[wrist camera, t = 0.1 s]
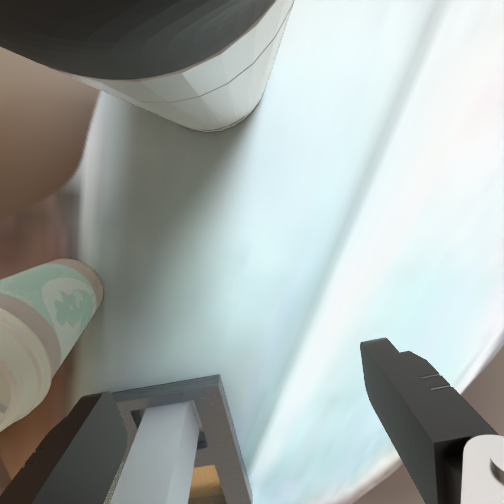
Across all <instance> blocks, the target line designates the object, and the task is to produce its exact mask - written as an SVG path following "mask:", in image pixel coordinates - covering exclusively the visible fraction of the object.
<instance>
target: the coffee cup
mask: <svg viewBox="0 0 504 504" xmlns="http://www.w3.org/2000/svg"><path fill="white" fill-rule="evenodd" d="M103 295H104V291H103V286H102V283H101V280H100V278H99V277H98V275H97V274H96V273H95V272H94V271H93V270H92V269H91V268H90V267H89V266H87V265H85V264H84V263H82V262H79V261H77V260H73V259H56V260H53V261H50V262H47V263H45V264H42V265H39V266H36V267H34V268H31V269H28V270H25V271H23V272H20V273H17V274H15V275H12V276H9V277H7V278H4V279H1V280H0V432H1V431H2V430H4V429H5V428H7V427H8V426H9V425H11V424H12V423H14V422H16V421H18V420H20V419H22V418H23V417H25V416H26V415H28V414H29V413H30V412H31V411H32V410H33V409H34V408H35V407H37V406H38V405H39V404H40V403H41V402H42V401H43V400H44V398H45V397H46V395H47V394H48V392H49V389H50V386H51V382H52V378H53V376H54V375H55V373H56V372H57V370H58V369H59V367H60V366H61V364H62V363H63V361H64V360H65V358H66V357H67V355H68V354H69V352H70V351H71V349H72V347H73V346H74V344H75V343H76V341H77V340H78V338H79V337H80V335H81V334H82V332H83V331H84V329H85V328H86V326H87V325H88V323H89V322H90V320H91V319H92V317H93V315H94V314H95V312H96V311H97V309H98V308H99V306H100V305H101V303H102V300H103Z"/></svg>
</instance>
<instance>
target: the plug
mask: <svg viewBox="0 0 504 504" xmlns="http://www.w3.org/2000/svg"><path fill="white" fill-rule="evenodd" d="M198 436H199V429H198V426H197V423H196V420H195V417H194V414H193V410H192V407H191V404H190V401H186V402H180V403H174V404H168V405H162V406H156V407H150V408H146V410H145V412H144V415H143V418H142V420H141V423H140V426H139V428H138V431H137V433H136V436H135V439H134V441H133V444H132V446H131V449H130V452H129V454H128V457H127V460H126V462H125V465H124V467H123V470H122V473H121V475H120V478H119V480H118V483H117V486H116V488H115V491H114V494H113V496H112V499H111V501H110V504H188V499H189V493H190V487H191V480H192V474H193V468H194V462H195V455H196V449H197V443H198Z"/></svg>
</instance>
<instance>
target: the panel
mask: <svg viewBox="0 0 504 504" xmlns="http://www.w3.org/2000/svg"><path fill="white" fill-rule="evenodd" d="M111 394H112V395H113V397H114V399H115V402H116V404H117V407H118V409H119V412H120V414H121V417H122V419H123V422H124V424H125V427H126V430H127V438H128V439H127V448H126V451H125V454H124V456H123V461H124V463H125V462H126V460H127V457H128V454H129V452H130V449H131V446H132V444H133V441H134V439H135V436H136V433H137V431H138V428H139V426H140V423H141V420H142V418H143V415H144V412H145V410H146V408H150V407H156V406H162V405H168V404H174V403H180V402H186V401H190V404H191V407H192V410H193V414H194V417H195V420H196V423H197V426H198V429H199V436H198V443H197V449H196V455H195V462H194V468H193V474H192V480H191V487H190V493H189V499H188V504H253V503H252V491H251V487H250V484H249V480H248V476H247V473H246V469H245V465H244V462H243V458H242V454H241V451H240V447H239V443H238V440H237V436H236V432H235V429H234V425H233V421H232V418H231V414H230V410H229V407H228V403H227V399H226V396H225V392H224V388H223V385H222V381H221V377H220V374H219V375H213V376H208V377H202V378H196V379H190V380H184V381H179V382H173V383H167V384H161V385H156V386H150V387H144V388H138V389H132V390H127V391H121V392H115V393H111Z"/></svg>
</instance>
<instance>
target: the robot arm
mask: <svg viewBox="0 0 504 504" xmlns="http://www.w3.org/2000/svg"><path fill="white" fill-rule="evenodd" d="M293 3H294V0H0V47H3V48H5V49H7V50H10V51H12V52H14V53H16V54H19V55H21V56H24V57H26V58H28V59H31V60H33V61H35V62H37V63H40V64H42V65H45V66H47V67H49V68H51V69H53V70H56V71H58V72H60V73H62V74H65V75H67V76H69V77H72V78H74V79H76V80H78V81H81V82H83V83H85V84H88V85H90V86H92V87H95V88H97V89H99V90H101V91H104V92H106V93H108V94H111V95H113V96H116V97H118V98H120V99H123V100H125V101H127V102H129V103H132V104H134V105H136V106H138V107H141V108H143V109H145V110H148V111H150V112H152V113H154V114H157V115H159V116H161V117H163V118H166V119H168V120H170V121H172V122H175V123H177V124H179V125H182V126H184V127H186V128H188V129H191V130H196V131H203V132H214V131H221V130H224V129H227V128H230V127H233V126H234V125H236V124H238V123H239V122H241V121H243V120H244V119H245V118H246V117H247V116H248V115H249V114H250V113H251V112H252V111H253V110H254V108H255V107H256V105H257V104H258V102H259V101H260V99H261V97H262V94H263V92H264V90H265V87H266V85H267V82H268V79H269V76H270V73H271V70H272V67H273V64H274V61H275V58H276V55H277V52H278V49H279V46H280V43H281V40H282V37H283V34H284V31H285V28H286V24H287V21H288V18H289V15H290V12H291V9H292V6H293ZM360 350H361V357H362V365H363V372H364V380H365V386H366V391H367V394H368V397H369V400H370V402H371V404H372V406H373V408H374V410H375V412H376V414H377V416H378V417H379V419H380V421H381V423H382V425H383V427H384V428H385V430H386V432H387V434H388V436H389V438H390V439H391V441H392V443H393V445H394V447H395V449H396V450H397V452H398V454H399V456H400V458H401V460H402V461H403V463H404V465H405V467H406V468H407V471H408V472H409V474H410V476H411V478H412V479H413V481H414V483H415V485H416V487H417V489H418V490H419V492H420V494H421V496H422V498H423V500H424V502H425V503H426V504H504V436H500V435H499V434H498V433H497V432H496V431H495V430H494V429H493V428H492V427H491V426H490V425H489V424H488V423H487V422H486V421H485V420H484V419H483V418H482V417H481V416H480V415H479V414H478V413H477V412H476V411H475V410H474V409H473V408H472V407H471V406H470V405H469V404H468V402H467V401H466V400H465V399H464V398H463V397H462V396H461V395H460V394H459V393H458V392H457V391H456V390H455V389H454V388H453V387H451V386H450V384H449V383H448V382H447V381H446V380H445V379H444V378H443V377H442V376H440V375H439V373H438V372H437V371H436V369H435V368H434V367H433V366H432V365H431V364H430V363H429V362H428V361H427V360H425V359H423V358H421V357H420V356H418V355H416V354H414V353H412V352H410V351H406V352H401V353H399V351H398V350H397V349H396V348H395V347H394V346H393V345H392V343H391V342H390V341H389V340H388V339H387V338H380V339H375V340H370V341H365V342H361V344H360ZM127 439H128V438H127V430H126V427H125V424H124V422H123V419H122V417H121V414H120V412H119V409H118V407H117V404H116V402H115V399H114V397H113V395H112V394H111V393H110V392H102V393H97V394H92V395H87V396H83V397H82V398H81V399H80V400H79V401H78V402H77V404H76V405H75V406H74V408H73V409H72V411H71V412H70V413H69V415H68V416H67V417H65V418H64V419H63V420H62V421H61V422H60V423H59V424H57V425H56V426H55V427H54V428H53V429H52V430H51V431H50V432H49V433H48V434H47V435H46V436H45V438H44V439H43V440H42V442H41V443H40V444H39V446H38V447H37V448H36V452H35V453H33V454H32V455H31V456H30V458H29V459H28V460H27V462H26V463H25V466H24V468H21V469H20V471H19V472H18V473H17V475H16V476H15V477H14V479H13V480H12V481H11V483H10V484H9V485H8V487H7V488H6V489H5V491H4V492H3V493H2V494H1V496H0V504H103V503H104V500H105V498H106V496H107V493H108V491H109V489H110V486H111V484H112V482H113V479H114V477H115V475H116V472H117V470H118V468H119V465H120V463H121V461H122V459H123V456H124V454H125V451H126V448H127Z"/></svg>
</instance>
